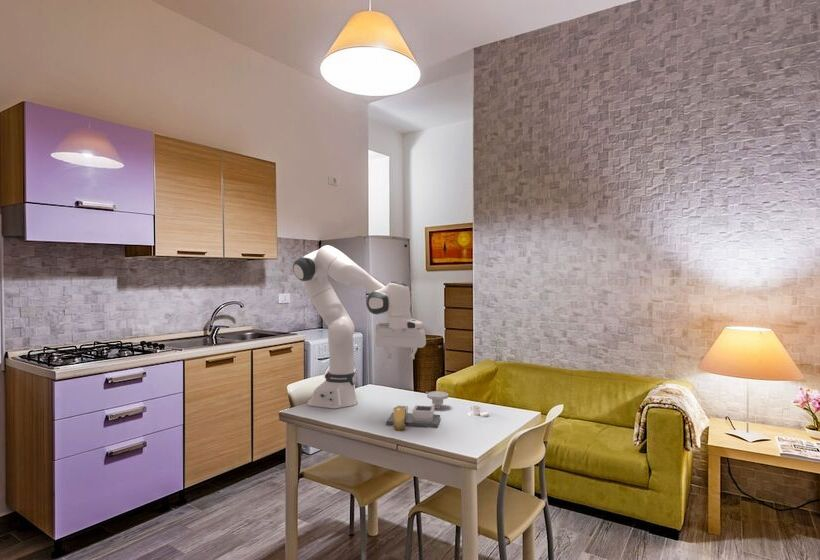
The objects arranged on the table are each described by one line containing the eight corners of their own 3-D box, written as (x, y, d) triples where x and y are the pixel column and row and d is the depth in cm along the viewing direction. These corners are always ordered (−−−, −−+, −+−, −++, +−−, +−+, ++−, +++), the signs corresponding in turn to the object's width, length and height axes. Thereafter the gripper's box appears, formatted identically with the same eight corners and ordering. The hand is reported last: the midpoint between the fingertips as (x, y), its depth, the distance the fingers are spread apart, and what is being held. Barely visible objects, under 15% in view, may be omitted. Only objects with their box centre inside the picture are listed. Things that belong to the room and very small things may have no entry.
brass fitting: (392, 430, 173) (392, 409, 173) (394, 427, 177) (394, 406, 177) (403, 431, 172) (403, 410, 172) (405, 427, 176) (406, 406, 176)
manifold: (386, 424, 179) (386, 410, 179) (392, 415, 191) (392, 402, 191) (437, 427, 176) (437, 413, 176) (440, 418, 188) (440, 405, 188)
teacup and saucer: (491, 417, 191) (491, 407, 191) (476, 420, 187) (476, 410, 187) (478, 412, 199) (478, 402, 199) (463, 414, 195) (463, 405, 195)
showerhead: (425, 389, 208) (447, 389, 208) (425, 405, 208) (447, 405, 208) (425, 394, 198) (449, 394, 198) (425, 410, 198) (449, 411, 198)
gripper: (372, 323, 179) (373, 358, 179) (421, 324, 172) (422, 360, 172) (378, 322, 185) (379, 356, 185) (426, 322, 178) (427, 358, 178)
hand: (400, 358), depth 179 cm, fingers open, 8 cm apart
